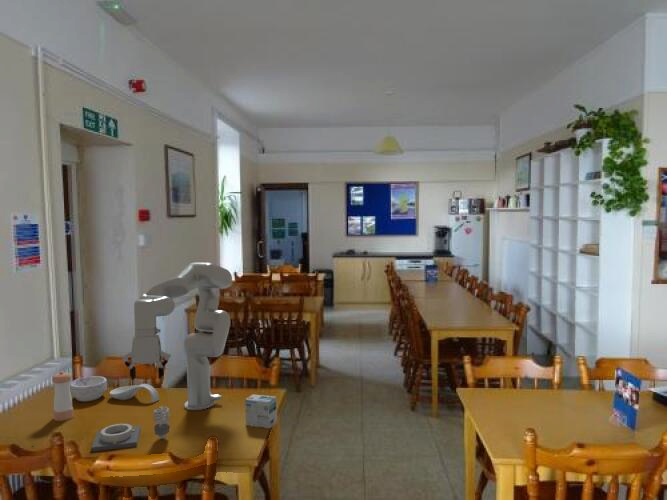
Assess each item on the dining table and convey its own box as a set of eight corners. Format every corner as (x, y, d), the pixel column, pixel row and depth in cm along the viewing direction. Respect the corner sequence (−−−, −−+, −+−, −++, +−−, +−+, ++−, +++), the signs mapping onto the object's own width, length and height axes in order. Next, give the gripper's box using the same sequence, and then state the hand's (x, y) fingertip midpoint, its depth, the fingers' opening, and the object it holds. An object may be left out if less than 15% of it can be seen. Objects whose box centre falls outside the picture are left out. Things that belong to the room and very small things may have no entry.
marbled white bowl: (98, 404, 229) (97, 386, 228) (63, 404, 229) (62, 386, 228) (113, 392, 244) (112, 375, 243) (81, 392, 244) (80, 375, 244)
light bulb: (156, 436, 194) (155, 404, 194) (171, 435, 195) (170, 404, 194) (152, 442, 189) (151, 410, 188) (168, 442, 189) (167, 409, 188)
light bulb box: (277, 422, 206) (277, 396, 205) (270, 429, 199) (269, 401, 199) (253, 419, 209) (252, 393, 209) (245, 426, 203) (244, 399, 202)
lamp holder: (140, 429, 201) (140, 419, 200) (136, 446, 186) (136, 435, 186) (98, 434, 197) (97, 424, 196) (91, 451, 182) (90, 440, 182)
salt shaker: (77, 415, 216) (75, 370, 214) (61, 422, 209) (59, 375, 208) (65, 413, 219) (63, 368, 217) (49, 419, 212) (47, 373, 211)
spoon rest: (104, 401, 233) (103, 385, 232) (122, 392, 244) (121, 377, 244) (148, 406, 226) (147, 390, 225) (165, 397, 237) (164, 382, 236)
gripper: (171, 329, 197) (173, 374, 198) (124, 331, 195) (126, 376, 196) (167, 334, 189) (168, 380, 190) (118, 335, 188) (119, 382, 189)
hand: (147, 378), depth 193 cm, fingers open, 9 cm apart
